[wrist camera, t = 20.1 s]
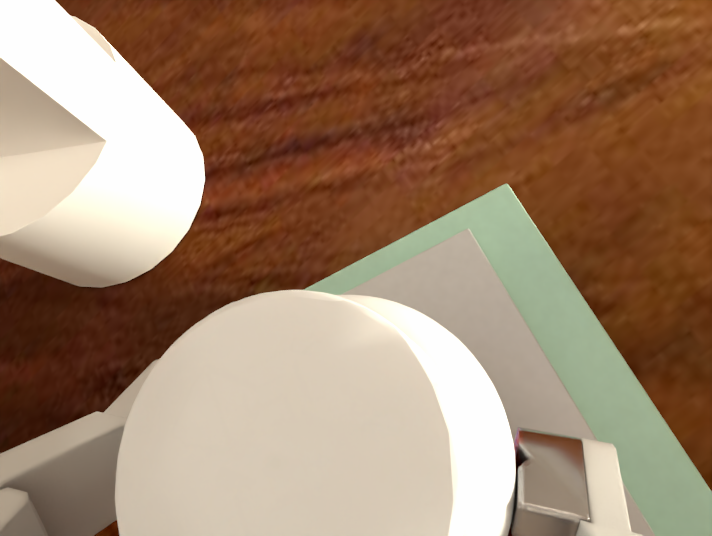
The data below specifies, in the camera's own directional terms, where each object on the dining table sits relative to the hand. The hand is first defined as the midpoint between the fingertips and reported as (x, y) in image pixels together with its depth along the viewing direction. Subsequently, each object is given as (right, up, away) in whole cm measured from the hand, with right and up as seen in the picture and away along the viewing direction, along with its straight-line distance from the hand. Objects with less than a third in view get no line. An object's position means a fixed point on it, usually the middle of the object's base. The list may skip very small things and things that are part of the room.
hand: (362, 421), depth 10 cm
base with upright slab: (-11, +6, +14) cm, 19 cm away
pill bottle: (+1, -2, +5) cm, 6 cm away
